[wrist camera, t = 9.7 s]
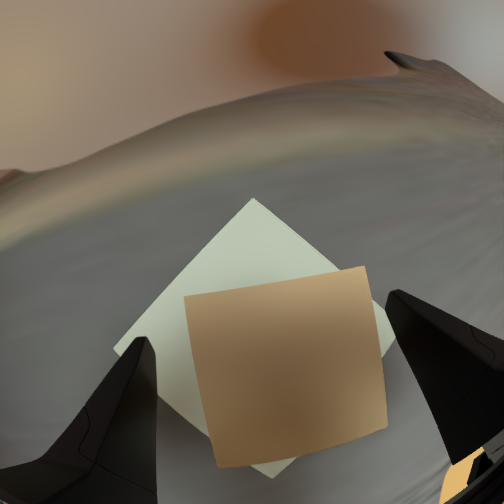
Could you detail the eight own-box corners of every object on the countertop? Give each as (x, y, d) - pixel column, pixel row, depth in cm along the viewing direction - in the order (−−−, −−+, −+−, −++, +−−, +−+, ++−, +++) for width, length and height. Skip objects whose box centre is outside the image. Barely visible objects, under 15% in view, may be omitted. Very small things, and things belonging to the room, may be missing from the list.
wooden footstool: (308, 375, 16) (387, 426, 6) (230, 390, 15) (218, 468, 6) (295, 299, 17) (364, 265, 7) (216, 313, 16) (183, 296, 7)
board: (395, 327, 18) (401, 327, 17) (271, 472, 14) (272, 478, 13) (252, 203, 20) (253, 197, 19) (119, 347, 16) (112, 348, 15)
